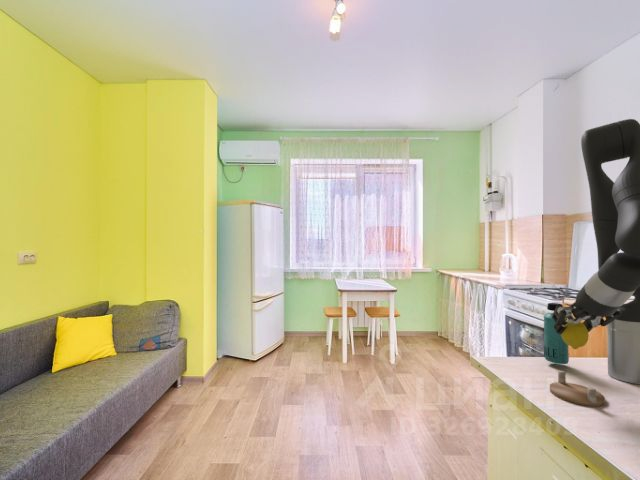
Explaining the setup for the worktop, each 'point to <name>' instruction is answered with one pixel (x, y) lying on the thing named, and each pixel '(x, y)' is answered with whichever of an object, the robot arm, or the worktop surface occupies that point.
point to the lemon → (575, 335)
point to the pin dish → (576, 392)
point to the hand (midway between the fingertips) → (569, 330)
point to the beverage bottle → (554, 340)
